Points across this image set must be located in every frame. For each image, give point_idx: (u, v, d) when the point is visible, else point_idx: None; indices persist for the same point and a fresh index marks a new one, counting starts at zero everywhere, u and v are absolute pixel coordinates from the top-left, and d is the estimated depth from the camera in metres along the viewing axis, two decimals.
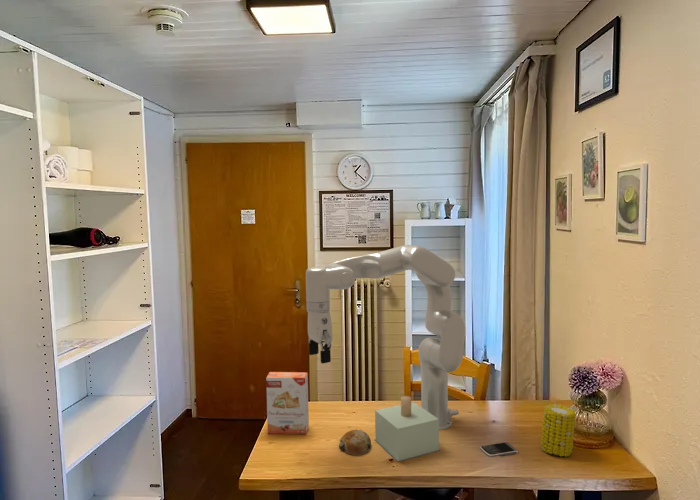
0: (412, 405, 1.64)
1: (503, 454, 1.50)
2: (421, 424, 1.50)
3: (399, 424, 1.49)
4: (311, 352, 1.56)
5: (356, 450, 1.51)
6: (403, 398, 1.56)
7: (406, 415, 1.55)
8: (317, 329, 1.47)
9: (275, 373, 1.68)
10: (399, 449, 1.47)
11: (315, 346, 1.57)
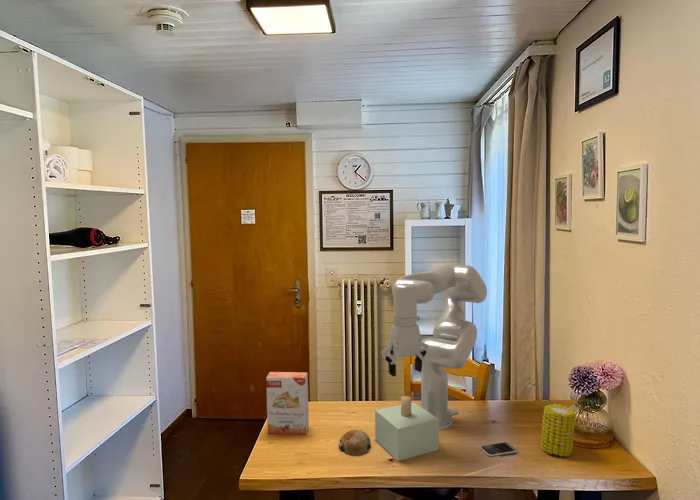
0: (412, 405, 1.64)
1: (503, 454, 1.50)
2: (421, 424, 1.50)
3: (399, 424, 1.49)
4: None
5: (356, 450, 1.51)
6: (403, 398, 1.56)
7: (406, 415, 1.55)
8: (419, 341, 1.54)
9: (275, 373, 1.68)
10: (399, 449, 1.47)
11: None
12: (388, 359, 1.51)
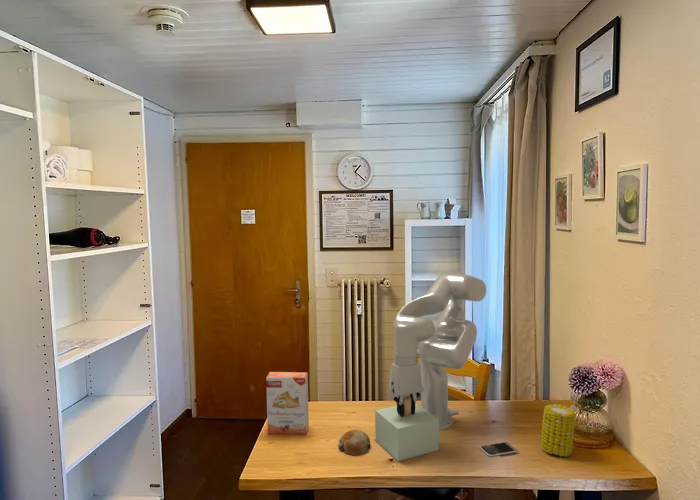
0: None
1: (503, 454, 1.50)
2: (421, 424, 1.50)
3: (399, 424, 1.49)
4: None
5: (356, 450, 1.51)
6: (403, 398, 1.56)
7: (406, 415, 1.55)
8: (419, 378, 1.55)
9: (275, 373, 1.68)
10: (399, 449, 1.47)
11: None
12: (396, 400, 1.53)
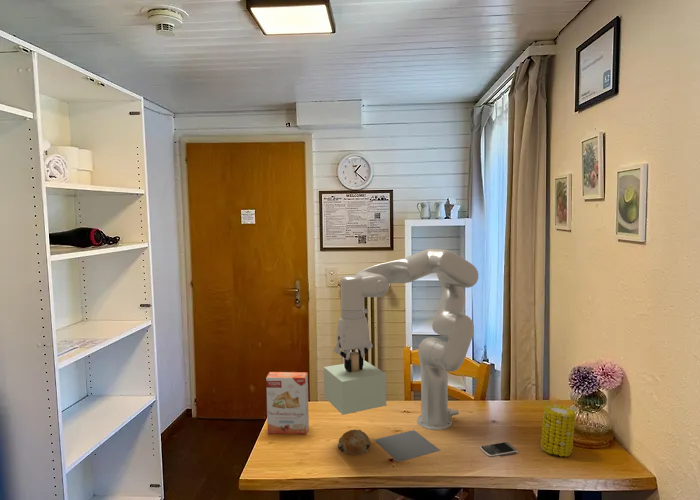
0: None
1: (503, 454, 1.50)
2: (367, 378, 1.47)
3: (344, 378, 1.47)
4: None
5: (355, 450, 1.51)
6: (351, 353, 1.53)
7: (353, 370, 1.52)
8: (367, 333, 1.53)
9: (275, 373, 1.68)
10: (344, 403, 1.45)
11: None
12: (343, 354, 1.51)
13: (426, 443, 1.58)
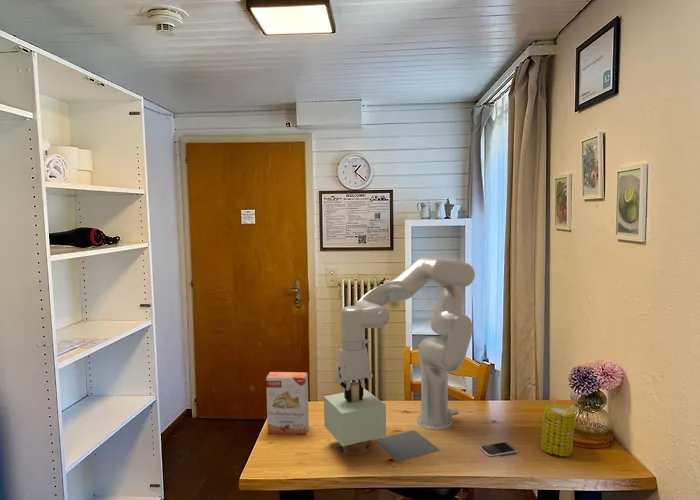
0: None
1: (503, 454, 1.50)
2: (367, 409, 1.48)
3: (344, 409, 1.48)
4: None
5: (355, 450, 1.51)
6: (351, 384, 1.54)
7: (353, 401, 1.53)
8: (367, 364, 1.53)
9: (275, 373, 1.68)
10: (343, 434, 1.45)
11: None
12: (343, 385, 1.52)
13: (426, 443, 1.58)
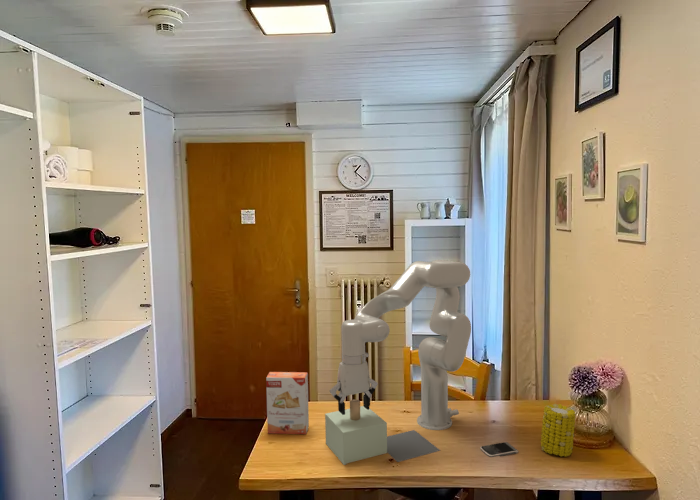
0: (363, 408, 1.62)
1: (503, 454, 1.50)
2: (368, 428, 1.49)
3: (346, 428, 1.48)
4: None
5: None
6: (352, 401, 1.55)
7: (354, 419, 1.54)
8: (367, 378, 1.54)
9: (275, 373, 1.68)
10: (345, 453, 1.46)
11: None
12: (337, 398, 1.51)
13: (426, 443, 1.58)
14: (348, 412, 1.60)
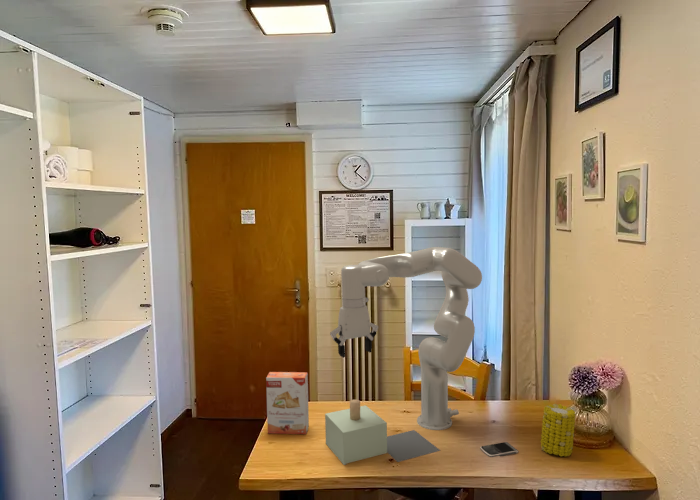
0: (363, 408, 1.62)
1: (503, 454, 1.50)
2: (368, 428, 1.49)
3: (346, 428, 1.48)
4: None
5: None
6: (352, 401, 1.55)
7: (354, 419, 1.54)
8: (368, 321, 1.56)
9: (275, 373, 1.68)
10: (345, 453, 1.46)
11: None
12: (337, 340, 1.52)
13: (426, 443, 1.58)
14: (348, 412, 1.60)
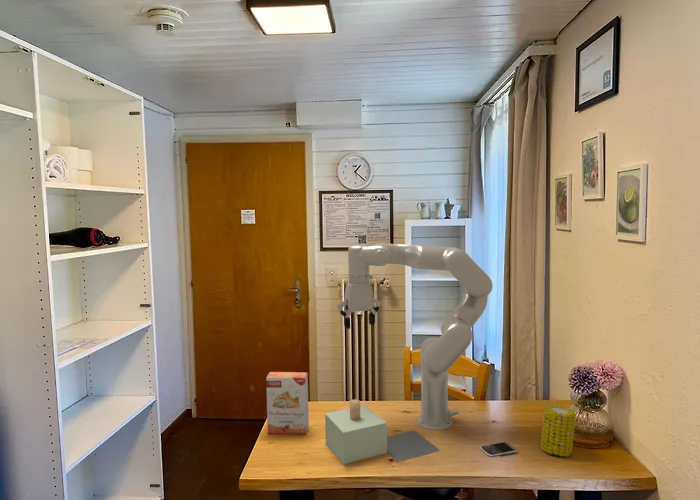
0: (363, 408, 1.62)
1: (503, 454, 1.50)
2: (368, 428, 1.49)
3: (346, 428, 1.48)
4: None
5: None
6: (352, 401, 1.55)
7: (354, 419, 1.54)
8: (371, 297, 1.71)
9: (275, 373, 1.68)
10: (345, 453, 1.46)
11: None
12: (343, 313, 1.68)
13: (426, 443, 1.58)
14: (348, 412, 1.60)
